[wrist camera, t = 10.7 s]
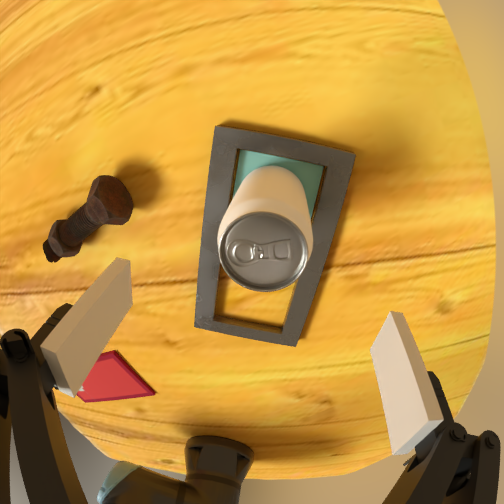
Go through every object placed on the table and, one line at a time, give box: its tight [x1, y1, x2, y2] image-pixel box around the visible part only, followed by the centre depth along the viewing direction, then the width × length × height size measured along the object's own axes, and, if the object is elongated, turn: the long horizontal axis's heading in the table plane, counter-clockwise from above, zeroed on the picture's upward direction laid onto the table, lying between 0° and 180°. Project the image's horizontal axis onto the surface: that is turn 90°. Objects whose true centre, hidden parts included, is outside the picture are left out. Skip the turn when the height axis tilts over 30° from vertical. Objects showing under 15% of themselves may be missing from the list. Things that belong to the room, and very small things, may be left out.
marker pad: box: [233, 149, 324, 220], centre depth 30 cm, size 8×8×1 cm
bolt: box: [43, 175, 133, 262], centre depth 31 cm, size 6×5×15 cm
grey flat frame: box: [194, 125, 356, 347], centre depth 32 cm, size 24×13×1 cm, turn 171°
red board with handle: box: [54, 350, 155, 403], centre depth 49 cm, size 30×3×15 cm
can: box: [217, 165, 313, 292], centre depth 24 cm, size 6×6×12 cm
